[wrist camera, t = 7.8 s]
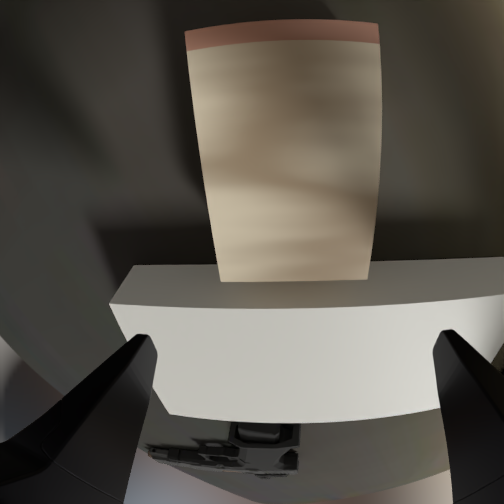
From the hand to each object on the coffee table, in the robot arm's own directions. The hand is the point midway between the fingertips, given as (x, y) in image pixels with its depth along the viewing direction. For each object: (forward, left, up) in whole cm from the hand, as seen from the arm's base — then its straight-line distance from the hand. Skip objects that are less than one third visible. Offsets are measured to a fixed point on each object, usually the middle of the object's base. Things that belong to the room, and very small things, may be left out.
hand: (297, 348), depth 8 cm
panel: (-2, +6, -6) cm, 9 cm away
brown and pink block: (0, -1, -4) cm, 4 cm away
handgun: (+9, +24, -6) cm, 26 cm away
